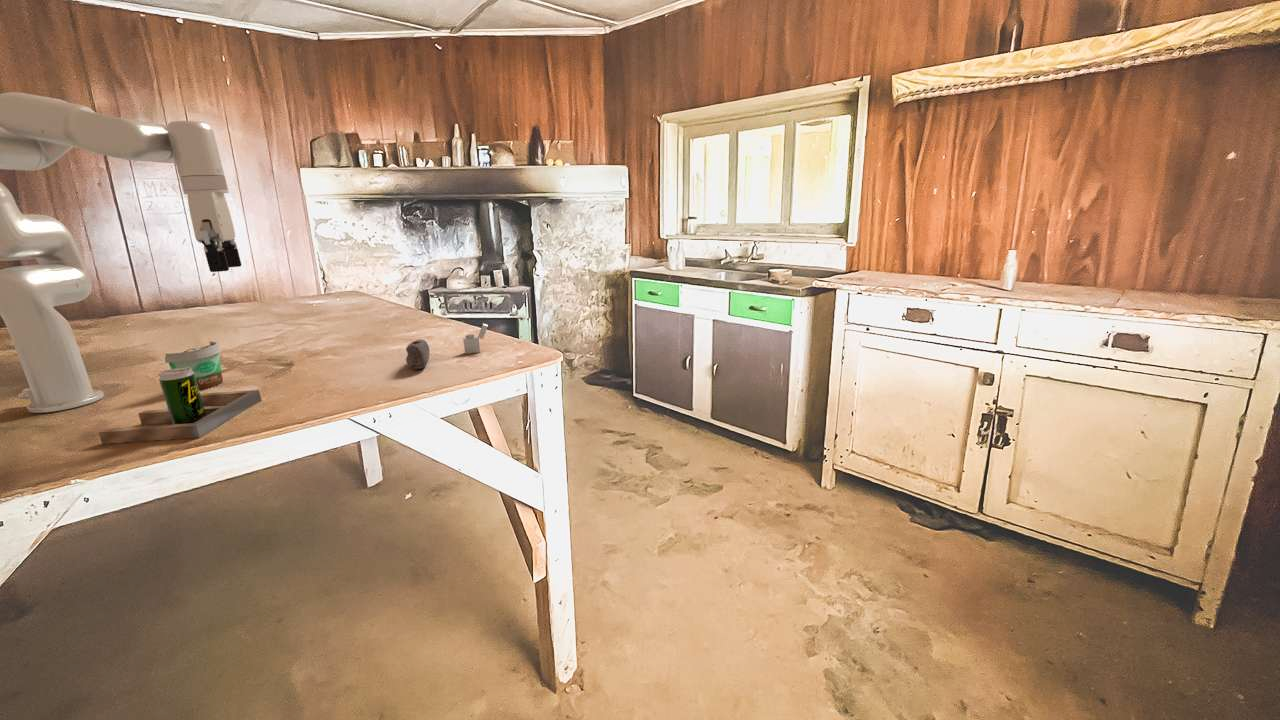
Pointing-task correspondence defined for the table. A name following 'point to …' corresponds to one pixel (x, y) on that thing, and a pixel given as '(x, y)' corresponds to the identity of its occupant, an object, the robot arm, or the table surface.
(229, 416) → the lane rack
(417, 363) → the perforated stone tool
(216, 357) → the food container
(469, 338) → the lighter
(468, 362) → the table surface
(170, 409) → the beer can
